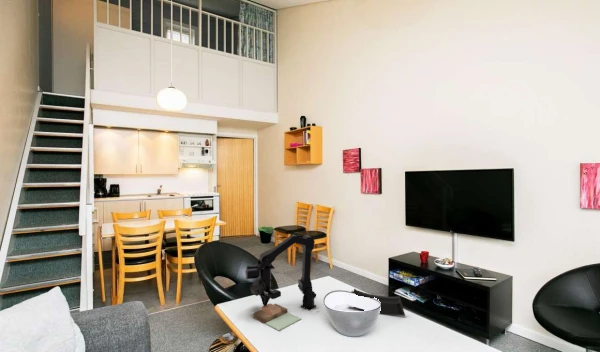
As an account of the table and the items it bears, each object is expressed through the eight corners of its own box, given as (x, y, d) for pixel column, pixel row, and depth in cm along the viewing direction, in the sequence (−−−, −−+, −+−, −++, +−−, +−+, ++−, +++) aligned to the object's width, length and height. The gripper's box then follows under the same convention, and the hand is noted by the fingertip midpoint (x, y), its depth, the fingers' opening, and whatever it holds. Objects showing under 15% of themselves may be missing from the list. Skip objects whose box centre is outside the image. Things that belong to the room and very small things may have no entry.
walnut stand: (275, 308, 168) (275, 303, 168) (287, 313, 162) (287, 308, 162) (252, 318, 156) (253, 313, 156) (264, 324, 150) (264, 319, 150)
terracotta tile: (270, 307, 163) (270, 303, 163) (280, 311, 158) (280, 307, 158) (261, 310, 159) (261, 306, 159) (272, 315, 153) (272, 311, 153)
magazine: (409, 299, 161) (355, 276, 170) (409, 301, 158) (354, 278, 167) (399, 328, 163) (346, 304, 172) (399, 331, 160) (345, 306, 169)
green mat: (287, 313, 161) (287, 312, 161) (301, 319, 155) (301, 318, 155) (265, 324, 149) (265, 323, 149) (279, 331, 143) (279, 330, 143)
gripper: (242, 276, 162) (241, 305, 162) (265, 285, 149) (265, 317, 149) (258, 271, 170) (257, 299, 170) (281, 280, 158) (281, 310, 158)
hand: (264, 306), depth 162 cm, fingers closed
